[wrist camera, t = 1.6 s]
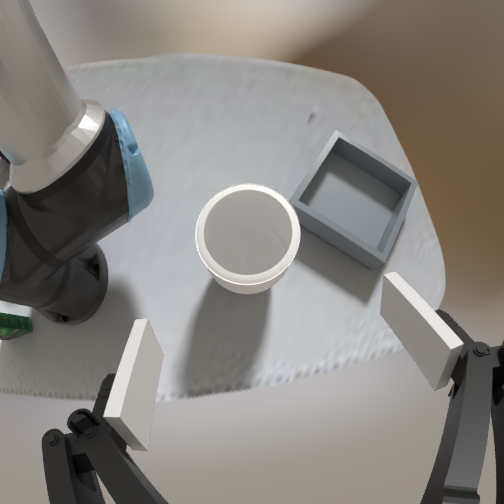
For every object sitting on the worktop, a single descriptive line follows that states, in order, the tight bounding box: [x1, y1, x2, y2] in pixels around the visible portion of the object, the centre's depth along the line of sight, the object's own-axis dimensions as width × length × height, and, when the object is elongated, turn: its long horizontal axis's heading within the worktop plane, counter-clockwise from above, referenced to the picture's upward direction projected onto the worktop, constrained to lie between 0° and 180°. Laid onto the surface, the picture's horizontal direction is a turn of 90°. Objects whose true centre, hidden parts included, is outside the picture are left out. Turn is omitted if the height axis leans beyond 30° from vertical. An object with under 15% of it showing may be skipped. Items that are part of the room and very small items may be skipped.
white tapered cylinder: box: [195, 183, 300, 294], centre depth 36 cm, size 11×10×15 cm
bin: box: [289, 131, 418, 271], centre depth 44 cm, size 16×16×5 cm
